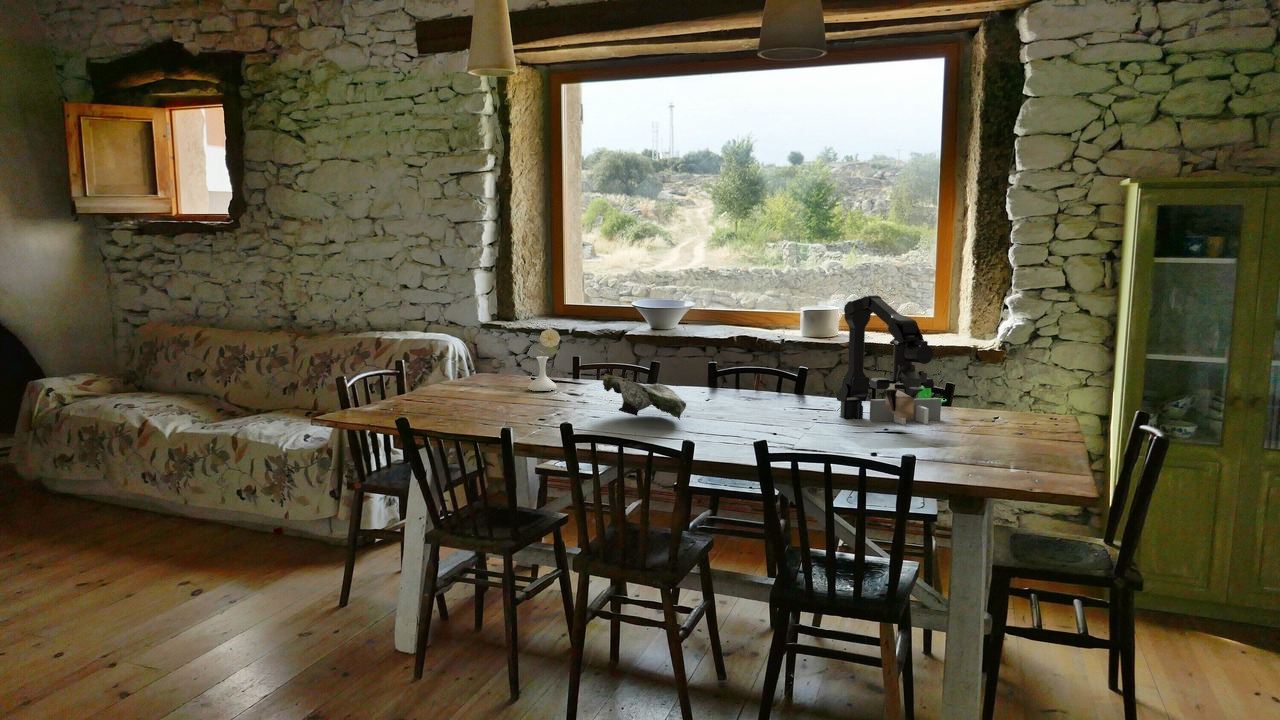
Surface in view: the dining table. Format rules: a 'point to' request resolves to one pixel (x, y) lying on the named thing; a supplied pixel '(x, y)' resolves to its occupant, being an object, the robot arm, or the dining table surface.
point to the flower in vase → (542, 381)
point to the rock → (644, 396)
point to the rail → (902, 405)
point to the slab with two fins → (921, 412)
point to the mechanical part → (927, 394)
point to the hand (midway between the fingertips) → (900, 410)
